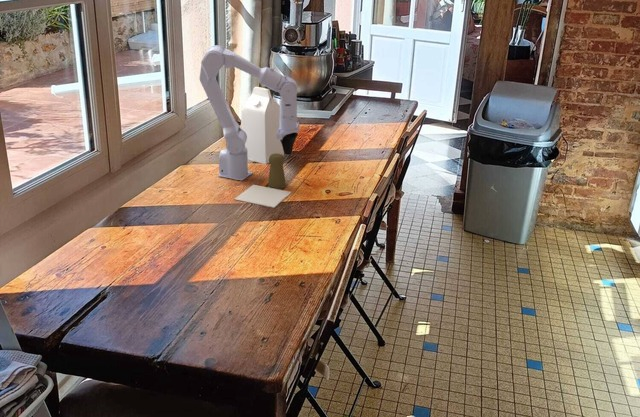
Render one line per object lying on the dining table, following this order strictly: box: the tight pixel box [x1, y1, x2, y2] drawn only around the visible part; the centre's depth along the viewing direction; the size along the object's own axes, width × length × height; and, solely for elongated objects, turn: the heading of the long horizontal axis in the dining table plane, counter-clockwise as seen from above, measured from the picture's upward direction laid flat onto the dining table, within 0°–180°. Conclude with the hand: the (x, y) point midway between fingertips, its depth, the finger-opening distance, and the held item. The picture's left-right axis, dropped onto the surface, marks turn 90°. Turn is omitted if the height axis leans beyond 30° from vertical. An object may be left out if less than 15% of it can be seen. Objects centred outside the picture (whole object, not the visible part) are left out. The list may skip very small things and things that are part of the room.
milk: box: [240, 86, 285, 165], centre depth 227 cm, size 12×12×26 cm
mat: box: [233, 184, 292, 209], centre depth 199 cm, size 14×13×1 cm
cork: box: [267, 153, 286, 190], centre depth 205 cm, size 6×6×11 cm
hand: (287, 153), depth 211 cm, fingers closed
